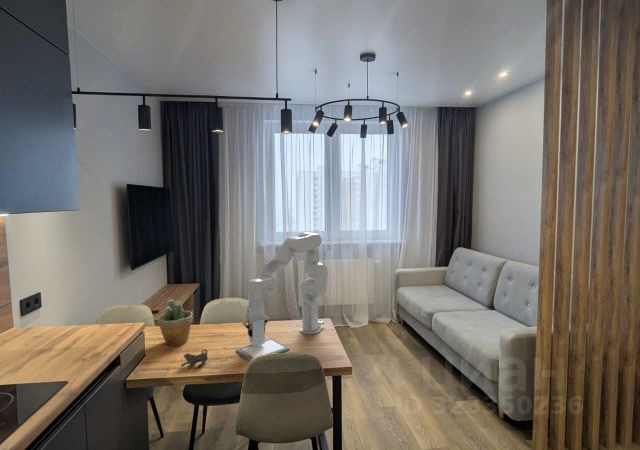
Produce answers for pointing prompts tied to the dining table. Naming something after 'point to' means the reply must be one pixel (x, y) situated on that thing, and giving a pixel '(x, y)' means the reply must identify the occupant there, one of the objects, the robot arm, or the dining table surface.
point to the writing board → (262, 349)
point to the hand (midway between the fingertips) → (256, 334)
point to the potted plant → (175, 323)
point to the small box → (257, 333)
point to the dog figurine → (195, 359)
